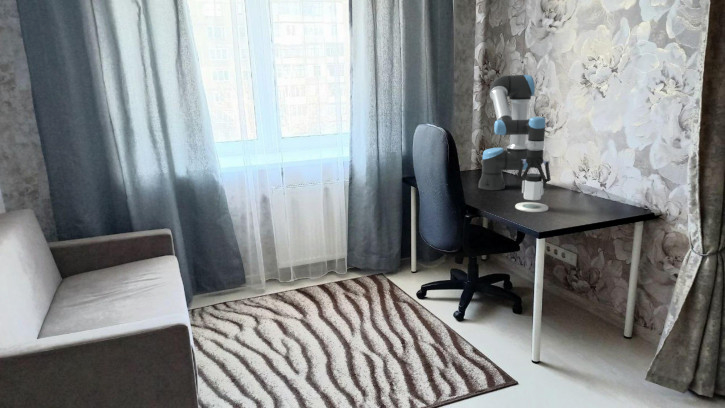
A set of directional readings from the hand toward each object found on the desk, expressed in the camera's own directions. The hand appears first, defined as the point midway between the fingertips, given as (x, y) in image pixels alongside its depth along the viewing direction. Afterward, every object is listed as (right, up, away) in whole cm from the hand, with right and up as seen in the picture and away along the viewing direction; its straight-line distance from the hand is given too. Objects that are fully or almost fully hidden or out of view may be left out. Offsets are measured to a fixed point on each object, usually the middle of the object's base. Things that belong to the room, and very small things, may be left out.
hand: (532, 193), depth 248 cm
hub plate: (0, -7, +2) cm, 7 cm away
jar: (0, -3, +1) cm, 3 cm away
